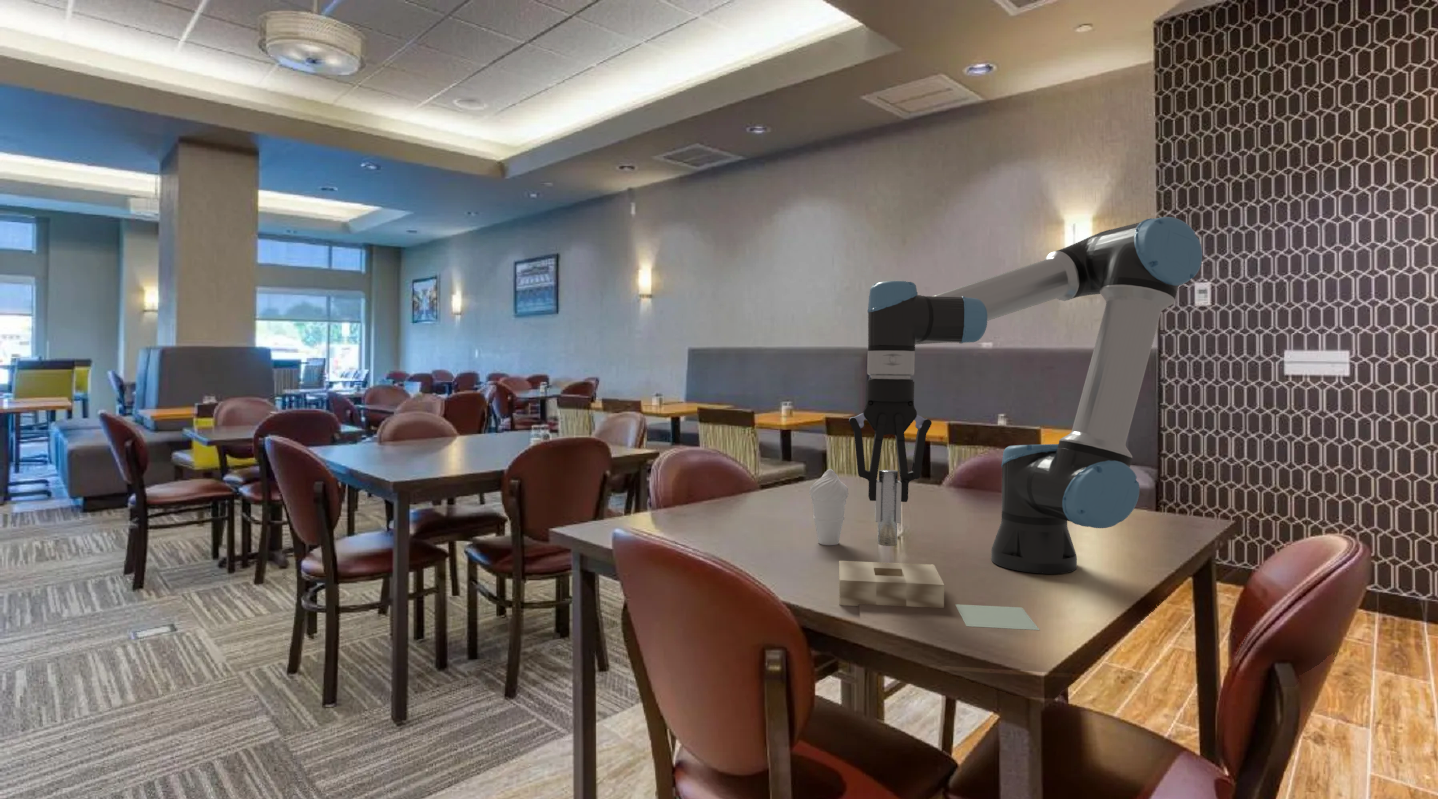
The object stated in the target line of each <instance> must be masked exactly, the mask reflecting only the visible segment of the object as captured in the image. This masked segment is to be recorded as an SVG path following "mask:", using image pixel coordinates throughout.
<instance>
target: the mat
mask: <svg viewBox="0 0 1438 799" xmlns="http://www.w3.org/2000/svg"><path fill="white" fill-rule="evenodd" d="M954 605H955V606H956V609H957V611H958V613H959V614H960V617H961V619H962V621H963V622H964V625H965V626H966V628H967V627H973V628H991V629H1008V630H1024V631H1026V630H1027V631H1029V630H1030V631H1040V628H1039V627H1038V626H1037V624H1036V623H1035V622H1034V621H1033V619H1032V618H1031V616H1030V615H1029V614H1028V613H1027V612H1026V611H1025V609H1024V608H1023V607H1019V606H1016V607H1015V606H999V605H978V604H976V605H973V604H958V603H957V604H954Z"/></svg>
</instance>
